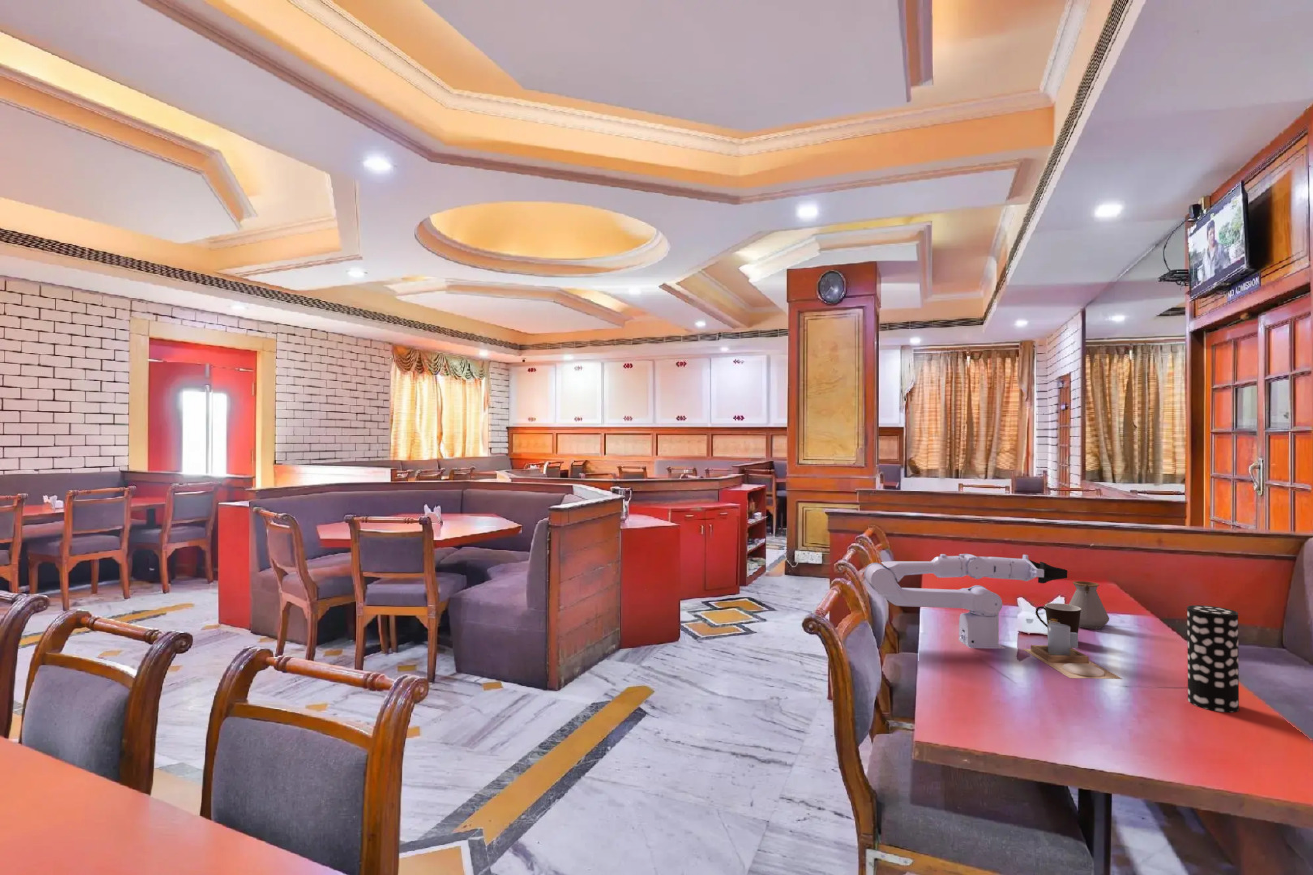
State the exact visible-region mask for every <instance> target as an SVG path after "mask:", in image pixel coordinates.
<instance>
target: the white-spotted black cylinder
mask: <svg viewBox="0 0 1313 875" xmlns="http://www.w3.org/2000/svg"><path fill="white" fill-rule="evenodd" d="M1186 612H1187V618H1186V619H1187V620H1186V621H1187V622H1186V624H1187V626H1186V628H1187V629H1186V630H1187V632H1186V633H1187V634H1186V636H1187V701H1188V702H1189V703H1191V705H1194V706H1196V707H1198V708H1202V709H1204V710H1209V711H1214V712H1220V713H1236V711H1237V712H1238V711H1239V710H1240V692H1239V691H1240V689H1239V688H1240V683H1239V680H1240V679H1239V677H1240V676H1239V675H1240V673H1239V672H1240V671H1239V664H1240V663H1239V612H1237V611H1235V610H1232V609H1229V608H1225V607H1220V606H1212V605H1199V604H1197V605H1196V604H1195V605H1188V606H1186Z"/></svg>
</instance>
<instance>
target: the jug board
mask: <svg viewBox="0 0 1313 875" xmlns="http://www.w3.org/2000/svg"><path fill="white" fill-rule="evenodd" d="M1022 651H1024V652H1026V653H1028V654H1029V655H1031V656H1033V657H1034V658H1036V659H1038V660H1039V661H1041V662H1042V663H1043V664H1046V665H1047V666H1049V667H1051V668H1052V669H1054V670H1056V671H1058V672H1059V673H1061V674H1063V676H1066V677H1068V678H1069V679H1092V680H1093V679H1097V680H1099V679H1104V680H1105V679H1109V680H1123V678H1122V677H1120V675H1119V676H1118V675H1117V674H1115V673H1113V672H1111V671H1109V670H1107V669H1105V668H1104V667H1101V666H1100V665H1098V664H1096V663H1095V662H1093V661H1090V656H1088V655H1086V654H1084V653H1083V652H1080V651H1079V650H1076V649H1075V648H1070V655H1051V654H1049V653H1048V644H1046V645H1045V644H1041V645H1040V644H1037V645H1036V644H1031V645H1030V648H1022Z"/></svg>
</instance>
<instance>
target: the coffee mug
mask: <svg viewBox="0 0 1313 875" xmlns="http://www.w3.org/2000/svg"><path fill="white" fill-rule="evenodd" d="M1040 609H1041V610H1042V609H1043V610H1044V611H1045V618H1046V622H1045V621H1044V620H1043V619H1042V618H1041V616H1040V614H1039V610H1040ZM1080 614H1081V608H1079V607H1077V606H1073V605H1069V603H1067V604H1066V603H1056V602H1055V603H1054V602H1052V603H1050V602H1049V603H1045V604H1044V606H1043V605H1042V606H1037V607H1036V608H1035V615H1036V617H1037V619H1038V620H1039V621H1040V622H1041V623H1042V624H1043V626H1045V627H1046V628H1047V629H1048V626H1047V624H1049V623H1058V624H1064V625H1068V626H1070V632H1073V633H1078V634H1079V631H1080V630H1079V628H1080V627H1079V622H1080Z"/></svg>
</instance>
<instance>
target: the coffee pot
mask: <svg viewBox="0 0 1313 875" xmlns="http://www.w3.org/2000/svg"><path fill="white" fill-rule="evenodd" d="M1072 584H1073V585H1074V587H1075V588H1076V590H1075V591H1074V593H1073V595H1072V598H1071V599H1070V601H1069V603H1068V605H1073V606H1077V607H1079V608H1081V614H1080V622H1079V628H1083V629H1089V630H1090V629H1092V630H1094V629H1095V630H1097V629H1102V628H1103V627H1104V626H1107V624H1108V622H1109V621H1110V617H1109V615H1108V612H1107V611H1106V608H1105V607H1104V604H1103V602H1102V600H1101V597H1100V596H1099V594H1098V592H1097V589H1098V587H1099V586H1100V584H1099V583H1098V582H1092V581H1085V580H1084V581H1082V580H1080V581H1079V580H1078V581H1077V580H1076V581H1073V582H1072Z"/></svg>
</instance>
